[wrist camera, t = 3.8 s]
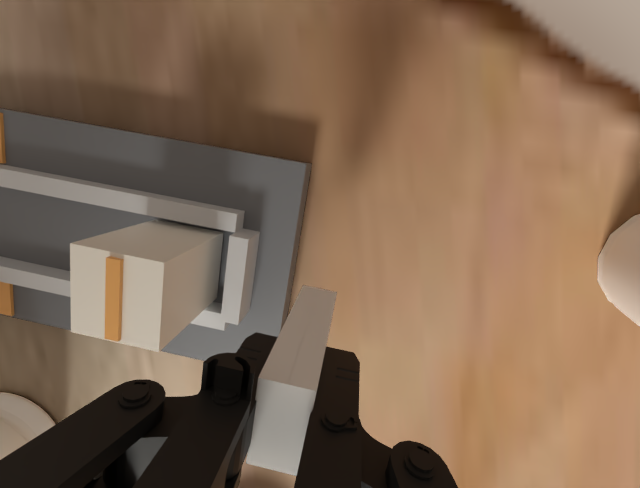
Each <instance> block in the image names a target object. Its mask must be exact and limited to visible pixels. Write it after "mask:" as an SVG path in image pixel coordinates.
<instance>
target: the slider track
mask: <svg viewBox="0 0 640 488" xmlns="http://www.w3.org/2000/svg"><path fill="white" fill-rule="evenodd" d="M0 113H3V120H4V138H5V156H6V163H0V282H5V283H9V284H13V299H14V315H13V316H9V317H14V318H18V319H22V320H27V321H31V322H36V323H40V324H44V325H49V326H53V327H58V328H62V329H66V330H71V294H70V243H73V242H76V241H80V240H83V239H87V238H91V237H94V236H98V235H101V234H105V233H108V232H112V231H116V230H119V229H123V228H126V227H130V226H134V225H137V224H141V223H144V222H148V221H152V220H155V219H158V220H163V221H168V222H173V223H178V224H183V225H188V226H193V227H198V228H203V229H208V230H213V231H218V232H223V243H222V252H221V262H220V272H219V281H218V291H217V298H216V299H215V300H214V301H213V302H212V303H211V304H210V305H209V306H208V307H207V308H205V309H204V310H203V311H202V312H201V313H200V314H199V315H198V316H197V317H196V318H195V319H194V320H193V321H192V322H191V323H189V324H188V325H187V326H186V327H185V328H184V329H183V330H182V331H181V332H180V333H179V334H178V335H177V336H176V337H174V338H173V339H172V340H171V341H170V342H169V343H168V344H167V345H166V346H165V347H164V348H163V349H162V350H161V351H163V352H168V353H172V354H176V355H181V356H185V357H190V358H194V359H198V360H203V361H206V360H207V359H208V358H209V357H211V356H214V355H216V354H220V353H228V352H229V353H236V352H237V350H238V349H239V348H240V346H241V344H242V343H243V341H244V340H245V338H247V337H249V336H250V335H252V334H254V333H255V332H257V333H262V334H266V335H271V336H276V337H278V336H279V334H280V332H281V330H282V328H283V326H284V323H285V321H286V319H287V315H288V309H289V303H290V296H291V290H292V284H293V278H294V272H295V265H296V259H297V253H298V247H299V240H300V234H301V228H302V222H303V216H304V209H305V203H306V197H307V191H308V184H309V178H310V172H311V166H312V164H311V163H306V162H300V161H295V160H289V159H283V158H278V157H272V156H267V155H261V154H255V153H250V152H244V151H239V150H233V149H228V148H222V147H216V146H211V145H205V144H200V143H194V142H188V141H183V140H177V139H172V138H166V137H160V136H155V135H149V134H144V133H138V132H132V131H127V130H121V129H116V128H110V127H105V126H99V125H93V124H88V123H82V122H77V121H71V120H65V119H60V118H54V117H49V116H43V115H37V114H32V113H26V112H21V111H15V110H9V109H4V108H0ZM0 315H4V314H0ZM5 316H8V315H5Z"/></svg>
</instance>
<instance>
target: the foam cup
mask: <svg viewBox="0 0 640 488" xmlns="http://www.w3.org/2000/svg"><path fill="white" fill-rule="evenodd" d="M597 281H598V283H599V285H600V287H601V288H602V290H603V292H604V294H605V295H606V297H607V299H608V301H610V302H611V303H613V304H614V305H615V307H616V308H618V309H619V310H620V311H621V312H622V313H624V314H625V315H626V316H627V317H629V318H630V319H631V320H632V321H633V322H635V323H636V324H637V325H638V326H640V214H638V215H634V216H633V217H631V218H630V219H629V220H628V221H626V222H625V223H624V224H623V225H621V226H620V227H619V228H618V229H616V230H615V231H614V232H613V233H611V234H610V236H609V238H608V240H607V242H606V244H605V245H604V247H603V249H602V251H601V253H600V255H599V256H598V277H597Z"/></svg>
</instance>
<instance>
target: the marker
mask: <svg viewBox="0 0 640 488" xmlns="http://www.w3.org/2000/svg"><path fill="white" fill-rule="evenodd" d="M0 163H6V156H5V138H4V120H3V113H0ZM0 314H4V315H8V316H13V315H14V299H13V284H9V283H5V282H0Z"/></svg>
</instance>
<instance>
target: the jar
mask: <svg viewBox="0 0 640 488" xmlns="http://www.w3.org/2000/svg"><path fill="white" fill-rule="evenodd" d="M55 425H56V424H55V422H54V421H53V420H52V419H51V417H50V416H49V415H48V414H47V413H46V412H45V411H44V410H43V409H42V408H41V407H39V406H38V405H36V404H35V403H33V402H32V401H30V400H28V399H26V398H24V397H22V396H19V395H15V394H11V393H4V392H0V460H1V459H2V458H4V457H6V456H7V455H9V454H10V453H12V452H13V451H15V450H17V449H18V448H20V447H21V446H23V445H25V444H26V443H28V442H29V441H31V440H32V439H34V438H36V437H37V436H39V435H40V434H42V433H43V432H45V431H47V430H48V429H50V428H51V427H53V426H55Z"/></svg>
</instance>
